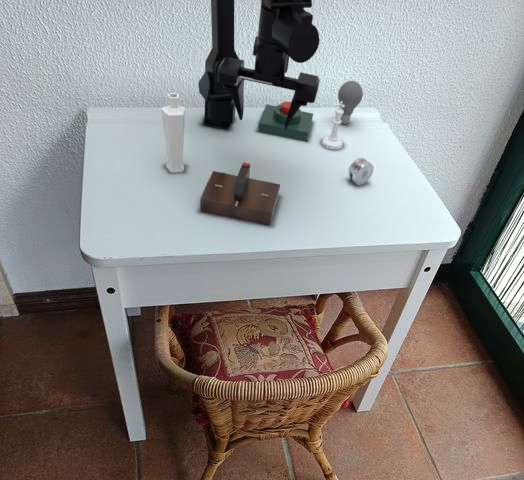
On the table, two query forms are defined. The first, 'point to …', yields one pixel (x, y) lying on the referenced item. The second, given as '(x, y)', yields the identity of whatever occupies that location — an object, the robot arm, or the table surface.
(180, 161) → the perfume bottle
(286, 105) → the button
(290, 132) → the button box
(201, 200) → the panel
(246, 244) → the table surface
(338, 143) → the chess piece
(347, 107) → the light bulb
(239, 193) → the knob
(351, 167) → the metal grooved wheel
